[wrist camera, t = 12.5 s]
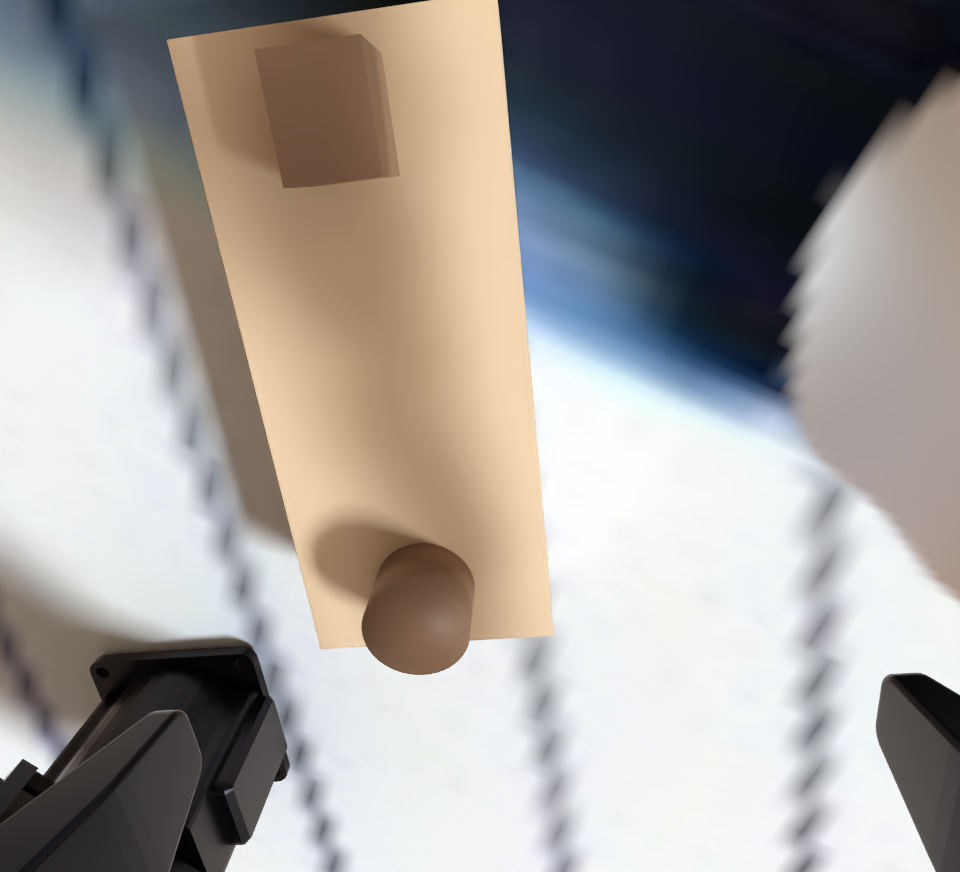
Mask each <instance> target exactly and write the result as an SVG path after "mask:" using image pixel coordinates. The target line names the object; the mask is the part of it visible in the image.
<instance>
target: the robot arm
mask: <svg viewBox="0 0 960 872" xmlns="http://www.w3.org/2000/svg"><path fill="white" fill-rule="evenodd" d="M240 659H241V660H244V661H246V663H245V662H242V661H240ZM105 668H106V669H105ZM90 673H91V675H92V678H93V680H94V682H95V685H96V687H97V690H98V692H99V694H100V697H101V699H102V702H101V703H100V704H99V705H98V707H97V708H96V709H95V710H94V712H93V713H92V714H91V716H90V717H89V718H88V719H87V721H86V722H85V723H84V724H83V726H82V727H81V728H80V730H79V731H78V732H77V733H76V735H75V736H74V737H73V738H72V740H71V741H70V742H69V743H68V745H67V746H66V747H65V749H64V750H63V751H62V752H61V754H60V755H59V756H58V757H57V759H56V760H55V761H54V763H53V764H52V765H51V766H50V768H49V769H48V770H47V771H46V773H45V774H44V775H42V774H40V773H38V772H37V771H36V770H37V769H38V768H37V767H36V766H34V765H32V764H31V763H29V762H27V761H26V760H24V759H22V760H21V761H20V762H19V764H18V765H17V766H16V767H15V768H14V769H13V770H12V771H11V772H10V774H9V775H8V776H7V777H6V778H5V779H4V780H3V779H1V778H0V872H225V870H226V867H227V865H228V863H229V860H230V858H231V855H232V853H233V851H234V848H235V846H236V845H244V844H246V843H247V842H248V840H249V839H250V838H251V837H252V834H253V832H254V829H255V827H256V824H257V822H258V819H259V817H260V814H261V812H262V809H263V807H264V804H265V802H266V799H267V797H268V794H269V792H270V789H271V787H272V784H273V782H276V781H282V780H283V779H285V777H286V776H287V773H288V770H289V768H290V763H289V760H288V757H287V753H286V749H287V743H286V740H285V737H284V733H283V730H282V727H281V723H280V720H279V716H278V713H277V710H276V706H275V703H274V701H273V699H272V698H271V697H270V696H269V693H268V690H267V686H266V683H265V680H264V676H263V673H262V670H261V666H260V663H259V660H258V656H257V655H256V653H255V652H254V651H253V650H252V649H250V648H247V647H229V648H213V649H196V650H179V651H162V652H146V653H129V654H112V655H102V656H100V657H99V658H97V660H96V661H95V662H94V663H93V664H92V665H91V668H90ZM876 733H877V738H878V742H879V745H880V747H881V749H882V752H883V754H884V756H885V759H886V761H887V763H888V765H889V768H890V770H891V772H892V774H893V777H894V779H895V781H896V784H897V786H898V788H899V790H900V793H901V795H902V797H903V799H904V802H905V804H906V806H907V808H908V811H909V813H910V815H911V818H912V820H913V822H914V824H915V827H916V829H917V831H918V833H919V836H920V838H921V840H922V843H923V845H924V847H925V849H926V852H927V854H928V856H929V858H930V860H931V862H932V865H933V867H934V869H935V871H936V872H960V695H959V694H957V693H955V692H954V691H952V690H950V689H949V688H947V687H945V686H944V685H942V684H940V683H939V682H937V681H935V680H934V679H932V678H930V677H928V676H926V675H924V674H921V673H902V674H890V675H887V676H886V677H885V678H884V679H883V681H882V685H881V692H880V699H879V706H878V713H877V719H876Z"/></svg>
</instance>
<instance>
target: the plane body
mask: <svg viewBox="0 0 960 872" xmlns="http://www.w3.org/2000/svg"><path fill="white" fill-rule="evenodd" d="M167 43H168V47H169V51H170V55H171V59H172V63H173V67H174V71H175V75H176V79H177V83H178V87H179V91H180V95H181V99H182V103H183V107H184V110H185V114H186V118H187V122H188V126H189V130H190V134H191V138H192V142H193V146H194V150H195V154H196V158H197V162H198V166H199V170H200V174H201V178H202V182H203V186H204V190H205V193H206V197H207V201H208V205H209V209H210V213H211V217H212V221H213V225H214V229H215V233H216V237H217V241H218V245H219V249H220V253H221V257H222V261H223V265H224V269H225V273H226V277H227V280H228V284H229V288H230V292H231V296H232V300H233V304H234V308H235V312H236V316H237V320H238V324H239V328H240V332H241V336H242V340H243V344H244V348H245V352H246V356H247V360H248V363H249V367H250V371H251V375H252V379H253V383H254V387H255V391H256V395H257V399H258V403H259V407H260V411H261V415H262V419H263V423H264V427H265V431H266V435H267V439H268V443H269V446H270V450H271V454H272V458H273V462H274V466H275V470H276V474H277V478H278V482H279V486H280V490H281V494H282V498H283V502H284V506H285V510H286V514H287V518H288V522H289V526H290V529H291V533H292V537H293V541H294V545H295V549H296V553H297V557H298V561H299V565H300V569H301V573H302V577H303V581H304V585H305V589H306V593H307V597H308V601H309V605H310V609H311V612H312V616H313V620H314V624H315V628H316V632H317V636H318V640H319V644H320V648H321V649H333V648H350V647H368V649H369V651H370V652H371V653H372V654H373V655H374V656H375V657H376V658H377V659H378V660H379V661H380V662H382V663H383V664H384V665H386V666H388V667H390V668H392V669H394V670H396V671H399V672H403V673H407V674H414V675H425V674H432V673H437V672H440V671H443V670H445V669H447V668H449V667H450V666H452V665H454V664H455V663H456V662H457V661H458V660H459V659H460V658H461V657H462V656H463V654H464V653H465V651H466V649H467V647H468V644H469V641H470V640H487V639H504V638H521V637H538V636H554V632H553V620H552V608H551V596H550V584H549V571H548V559H547V548H546V537H545V525H544V514H543V503H542V492H541V480H540V469H539V458H538V446H537V435H536V424H535V412H534V401H533V390H532V378H531V367H530V356H529V345H528V333H527V322H526V311H525V299H524V288H523V277H522V265H521V254H520V243H519V232H518V220H517V209H516V198H515V186H514V175H513V164H512V152H511V141H510V130H509V119H508V107H507V96H506V85H505V73H504V62H503V51H502V39H501V29H500V19H499V10H498V0H430V1H423V2H416V3H410V4H403V5H396V6H389V7H383V8H376V9H369V10H363V11H356V12H349V13H342V14H336V15H329V16H322V17H316V18H309V19H302V20H296V21H289V22H282V23H275V24H269V25H262V26H255V27H249V28H242V29H235V30H229V31H222V32H215V33H208V34H202V35H195V36H188V37H182V38H175V39H168V40H167Z"/></svg>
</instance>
